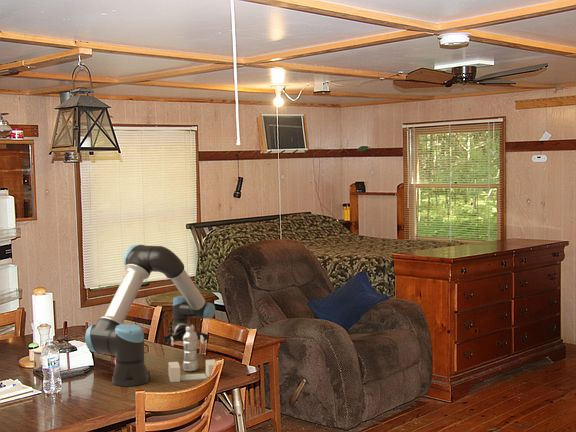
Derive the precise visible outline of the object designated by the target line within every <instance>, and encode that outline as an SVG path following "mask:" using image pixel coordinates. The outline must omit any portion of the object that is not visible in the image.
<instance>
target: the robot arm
mask: <svg viewBox="0 0 576 432" xmlns="http://www.w3.org/2000/svg"><path fill="white" fill-rule="evenodd" d="M123 264H124V270H125V274H124V276H123V277H122V280H121V282H120V283H119V286H118V288H117V289H116V292H115V294H114V296H113V297H112V299H111V302H110V303H109V305H108V308H107V310H106V312H105V314H104V316H101V317H99V318H98V320H97V322H96V323H94V324H92V325H89V326H88V328H87V329H86V331H85V335H84V337H85V338H84V341H85V345H86V347H87V349H88V350H89V351H91V352H92V353H96V354H99V355H100V354H102V355H112V356H115V366H114V370H113V375H112V377H111V383H112V385H114V386H119V387H134V386H140V385H144V384H147V383H149V381H150V379H149V377H150V375H149V373H148V369H147V366H146V364H145V334H144V333H145V332H144V329H143V328H142V327H141V326H140V325H137V324H131V323H130V324H128V323H124V322H125V320H126V318H127V316H128V313H129V312H130V310H131V307H132V306H133V303H134V301H135V299H136V297H137V295H138V293H139V290H140V288H141V286H142V285H143V282H144V280H147V279H148V278H149V277H150V275H151V273H152V272H159V273H162V274H164V276H165V277H166V278H168V279H170V280H171V282H172V284H174V286H175V287H176V288H177V290H178V291H179V293H180V294H181V295H178V296H174V297H173V299H172V301H173V302H172V327H171V328H172V331H171V332H169V333H168V334H166V335H165V336H164V337H163V342H164V343H167V344H168V345H170V344H171V346H172V347H174V346H175V343H174V342H175V341H179V342H182V343H183V336H184V334H185V333H186V326H187V325H190V324H189V323H190V322H189V318H196V319H204V320H205V319H210V320H211V319H212V318H213V317H214V316H215V314H216V306H215V304H214V303H213V302H212V303H211V302H207V301H206V300H205V298H204V296H203V294H202V293H201V291H200V290H199V289H198V287H197V286H196V284H195V282H194V281H193V280H192V279H191V277H190V276H189V274H188V272H187V271H186V269H185V264H184V263H183V261H182V260H181V259H180V258H179V256H178V255H177V254H175V253H174V252H173V251H172V250H171V249H170V248H167V247H165V246H161V245H145V244H135V245H132V246H129V248H128V249H127V250H126V252H125V253H124V260H123ZM195 333H196V335H197V337H198V340H197V341H200V343H201V344H202V345H204V344H205V342H206V341H209V334H207V333H203V332H201V331H198V330H196V331H195Z"/></svg>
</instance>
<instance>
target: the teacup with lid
mask: <svg viewBox="0 0 576 432" xmlns="http://www.w3.org/2000/svg"><path fill="white" fill-rule="evenodd" d="M44 344H45V343H41V344H40V345H41V346H38V347H37V348H34V349H33V351H32V352H33V370H34V369H37V368H39V367H41V350H42V347H43V346H44Z"/></svg>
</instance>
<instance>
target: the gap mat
mask: <svg viewBox="0 0 576 432" xmlns="http://www.w3.org/2000/svg"><path fill="white" fill-rule="evenodd" d="M207 379H208V377H207V375H206V372H204V373H191V374H189V373H188V374H187V373H186V374H180V382H181V381H182V382H184V381H198V380H207Z"/></svg>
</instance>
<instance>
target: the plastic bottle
mask: <svg viewBox="0 0 576 432" xmlns="http://www.w3.org/2000/svg"><path fill="white" fill-rule="evenodd" d="M198 341H199V340H198V337H197V335H196V331H195V325H193V324H189V325H187V326H186V333H185V334H184V336H183V342H182V344H183V360H182V368H183V371H185V372H195V371H197V369H198V368H199V367H198V366H199V361H198V358H197V357H198V356H197V348H198V347H197V346H198Z"/></svg>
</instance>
